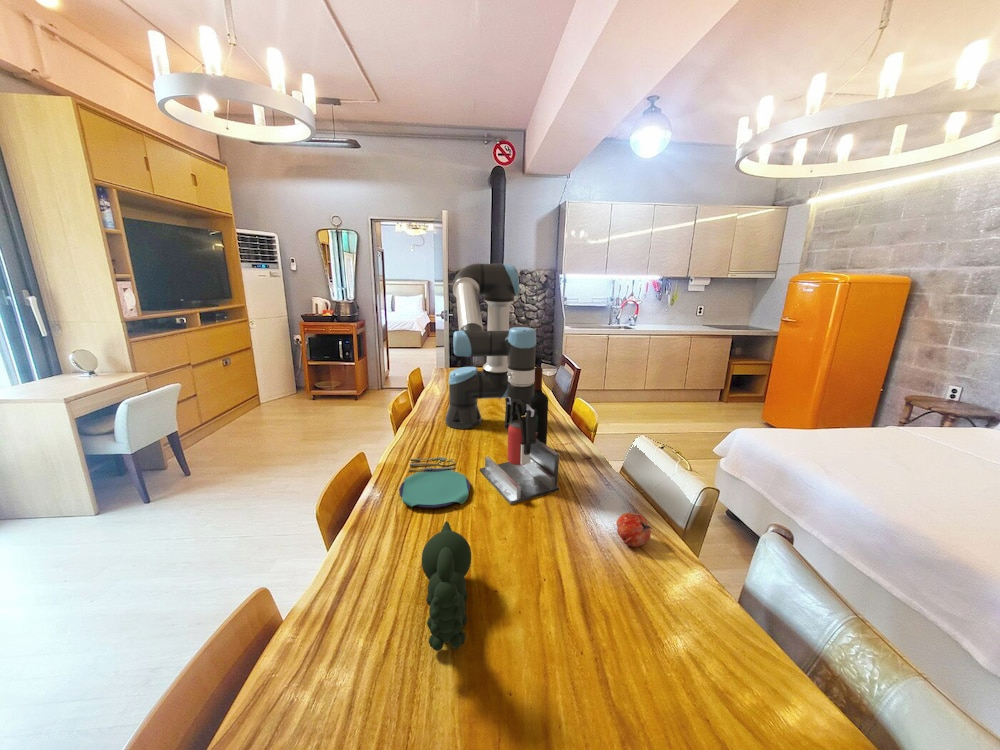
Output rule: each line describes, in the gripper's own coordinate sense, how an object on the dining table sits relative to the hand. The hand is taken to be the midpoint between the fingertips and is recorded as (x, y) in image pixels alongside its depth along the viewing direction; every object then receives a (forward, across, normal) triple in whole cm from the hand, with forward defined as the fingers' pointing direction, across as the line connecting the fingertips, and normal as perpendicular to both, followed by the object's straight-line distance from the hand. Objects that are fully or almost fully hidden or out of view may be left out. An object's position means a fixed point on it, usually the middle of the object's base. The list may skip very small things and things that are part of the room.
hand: (518, 458), depth 109 cm
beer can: (+1, 0, 0) cm, 1 cm away
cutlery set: (+8, -10, -22) cm, 26 cm away
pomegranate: (+8, +35, +10) cm, 37 cm away
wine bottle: (+7, -15, +16) cm, 23 cm away
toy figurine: (+8, +33, -34) cm, 48 cm away
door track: (+7, 0, 0) cm, 7 cm away
